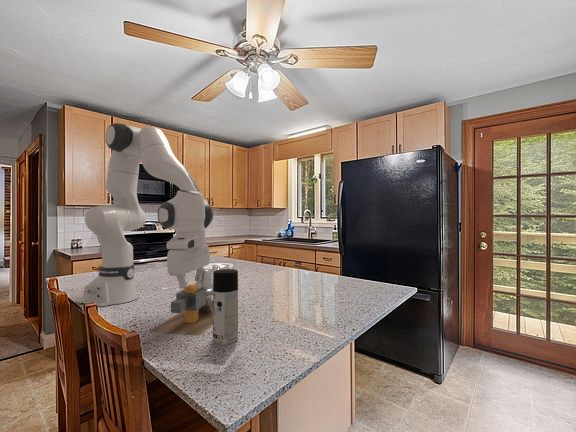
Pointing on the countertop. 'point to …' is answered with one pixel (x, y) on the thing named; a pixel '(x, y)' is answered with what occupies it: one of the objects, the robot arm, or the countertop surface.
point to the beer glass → (218, 268)
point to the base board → (186, 324)
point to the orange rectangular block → (191, 315)
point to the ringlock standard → (195, 297)
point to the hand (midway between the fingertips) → (191, 284)
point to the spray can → (225, 306)
